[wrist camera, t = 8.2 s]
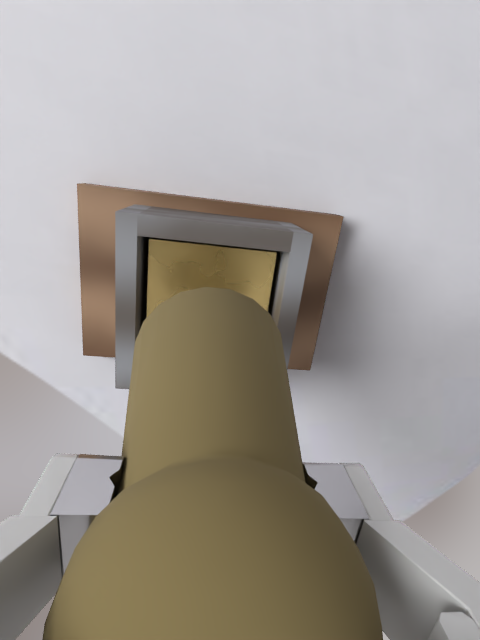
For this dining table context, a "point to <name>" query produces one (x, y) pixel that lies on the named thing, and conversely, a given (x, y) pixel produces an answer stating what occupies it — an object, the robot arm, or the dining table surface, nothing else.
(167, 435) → the tan rounded piece
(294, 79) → the dining table surface
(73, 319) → the dining table surface
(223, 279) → the spring seat
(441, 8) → the dining table surface
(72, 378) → the dining table surface
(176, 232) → the holder
